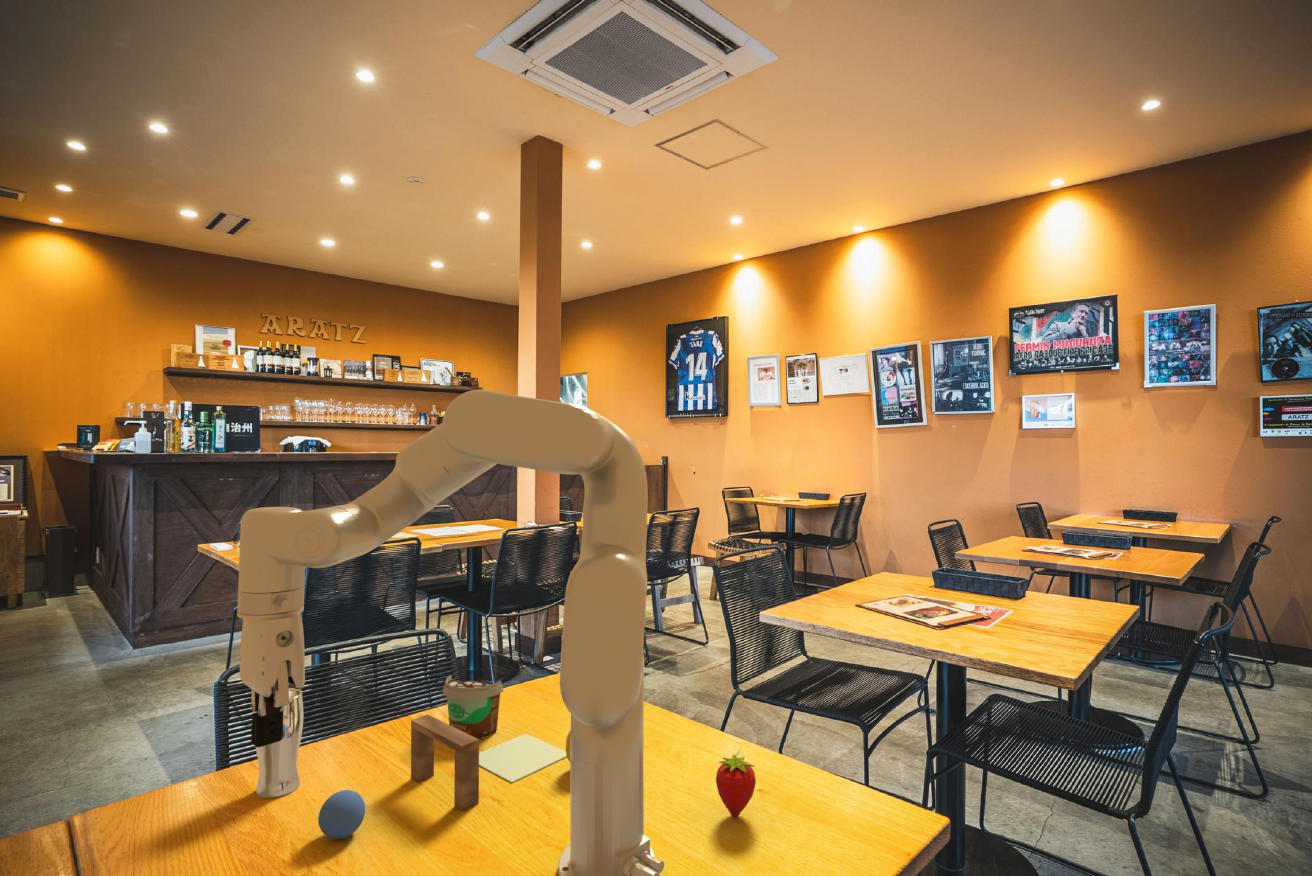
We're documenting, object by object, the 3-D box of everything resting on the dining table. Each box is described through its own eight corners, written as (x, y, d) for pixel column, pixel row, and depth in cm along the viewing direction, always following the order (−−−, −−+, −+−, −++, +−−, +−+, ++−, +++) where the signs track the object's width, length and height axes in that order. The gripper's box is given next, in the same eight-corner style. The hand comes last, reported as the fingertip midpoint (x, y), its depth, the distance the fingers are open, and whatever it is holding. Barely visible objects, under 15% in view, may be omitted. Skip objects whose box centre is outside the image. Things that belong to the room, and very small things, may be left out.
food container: (429, 738, 123) (429, 685, 123) (448, 725, 129) (448, 674, 129) (486, 746, 119) (486, 691, 119) (503, 732, 125) (503, 680, 125)
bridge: (427, 771, 110) (427, 714, 110) (478, 802, 100) (479, 739, 100) (410, 778, 107) (411, 719, 108) (461, 810, 98) (461, 746, 98)
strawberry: (756, 804, 99) (756, 738, 99) (755, 832, 92) (755, 761, 92) (717, 801, 100) (717, 735, 100) (714, 829, 93) (713, 758, 93)
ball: (372, 833, 92) (373, 791, 92) (329, 853, 87) (329, 808, 87) (353, 818, 96) (354, 777, 96) (310, 836, 91) (311, 793, 91)
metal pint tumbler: (243, 793, 103) (244, 698, 103) (285, 774, 109) (286, 684, 109) (269, 804, 100) (270, 706, 100) (312, 784, 106) (312, 691, 106)
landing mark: (571, 754, 116) (571, 753, 116) (511, 782, 106) (511, 781, 106) (525, 734, 124) (525, 733, 124) (466, 758, 114) (466, 757, 114)
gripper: (325, 606, 83) (320, 750, 83) (280, 588, 93) (276, 717, 92) (260, 616, 77) (255, 771, 77) (220, 597, 87) (215, 734, 86)
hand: (266, 742), depth 85 cm, fingers closed
